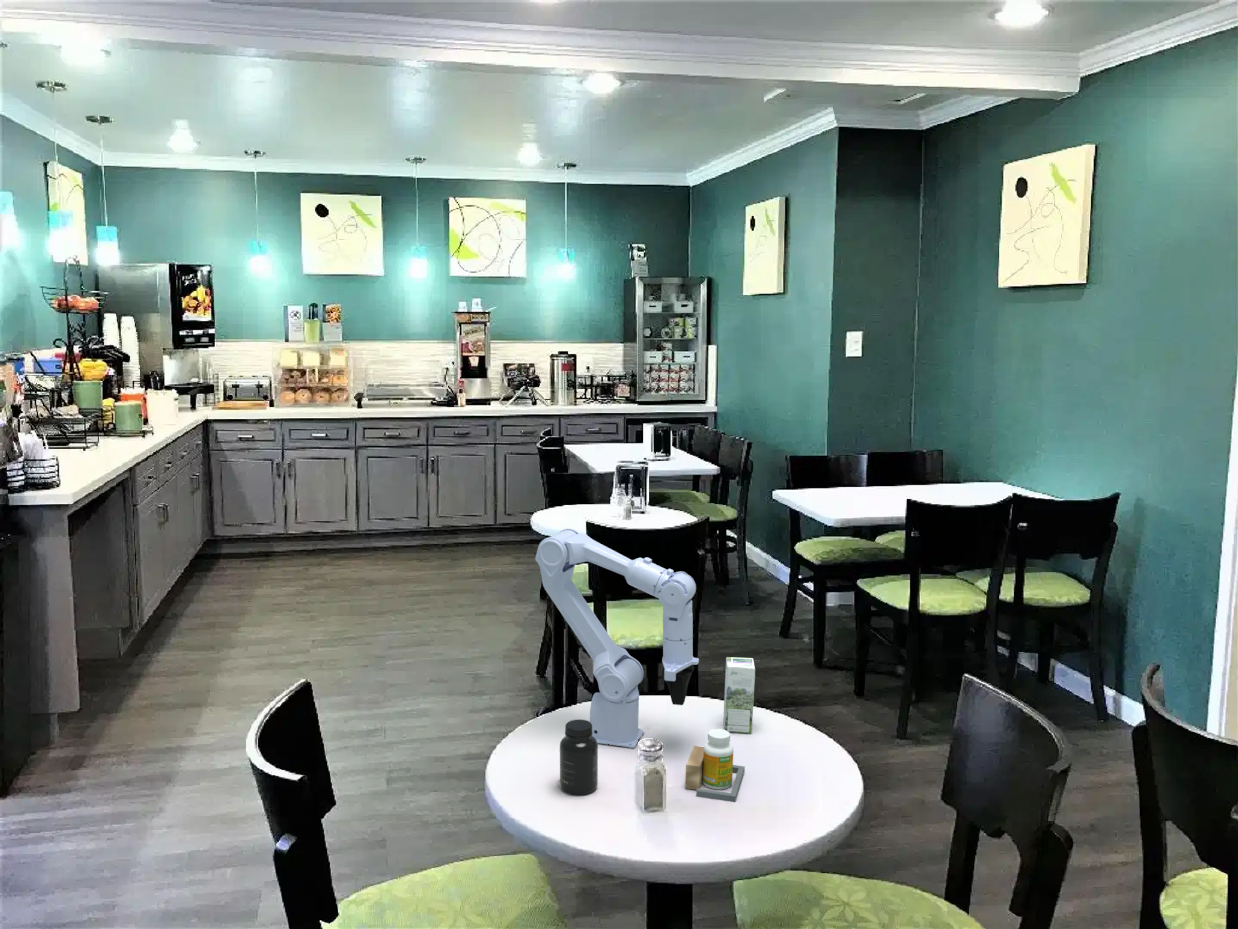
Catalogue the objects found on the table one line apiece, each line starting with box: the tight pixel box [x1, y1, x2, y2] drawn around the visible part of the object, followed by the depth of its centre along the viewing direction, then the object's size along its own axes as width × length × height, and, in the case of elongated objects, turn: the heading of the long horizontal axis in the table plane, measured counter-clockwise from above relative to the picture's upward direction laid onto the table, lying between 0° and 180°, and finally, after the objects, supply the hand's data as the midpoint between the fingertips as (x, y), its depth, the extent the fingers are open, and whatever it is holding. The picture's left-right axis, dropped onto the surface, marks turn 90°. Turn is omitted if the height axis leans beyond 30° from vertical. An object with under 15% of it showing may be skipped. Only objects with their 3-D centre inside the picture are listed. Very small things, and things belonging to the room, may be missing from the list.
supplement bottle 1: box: [559, 719, 599, 796], centre depth 180 cm, size 7×7×12 cm
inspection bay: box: [695, 764, 746, 803], centre depth 184 cm, size 7×12×1 cm, turn 165°
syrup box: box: [722, 656, 756, 734], centre depth 207 cm, size 6×6×14 cm
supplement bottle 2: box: [702, 728, 734, 791], centre depth 183 cm, size 5×5×10 cm
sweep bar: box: [684, 745, 704, 791], centre depth 185 cm, size 2×8×4 cm, turn 165°
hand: (678, 703), depth 196 cm, fingers closed
